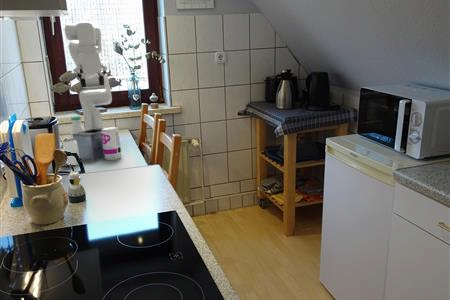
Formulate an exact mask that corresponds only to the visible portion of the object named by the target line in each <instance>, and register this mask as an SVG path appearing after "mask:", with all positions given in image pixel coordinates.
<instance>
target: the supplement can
mask: <svg viewBox="0 0 450 300" xmlns="http://www.w3.org/2000/svg"><path fill="white" fill-rule="evenodd" d="M119 132H120V131H119V129H118V127H116V126H110V127H107V126H106V127H103V129H102V131H101V137H102V144H103V151H104V158H103V159H105V160H106V161H113V160H114V161H115V160H119V159H120V158H121V157H122V156H123V155H122V149H121V148H122V147H121V141H120V133H119Z"/></svg>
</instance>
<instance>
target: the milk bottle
mask: <svg viewBox="0 0 450 300" xmlns="http://www.w3.org/2000/svg"><path fill="white" fill-rule="evenodd" d="M70 121H71V123H72V124H71V128H70V139H73V134H74V133H78V132H82V131H86V128H85V126H83V124H82V118H81V115H75V116H71V117H70Z"/></svg>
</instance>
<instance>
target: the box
mask: <svg viewBox="0 0 450 300" xmlns="http://www.w3.org/2000/svg"><path fill="white" fill-rule="evenodd" d="M103 128H104V127H103ZM103 128H93V129H89V130H86V129H85V131H82V132H78V133H74V134H73V139H76V141H77V145H78V151H79V157H80V159H81V160H80V161H88V162H96V161H99V160H101V159H105V158H104V151H103V144H102V137H101V131H102V129H103Z"/></svg>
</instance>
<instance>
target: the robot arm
mask: <svg viewBox="0 0 450 300" xmlns="http://www.w3.org/2000/svg"><path fill="white" fill-rule="evenodd" d="M64 35H65V37H66V40H68V41H69V43H68V51H69V54H70V56H71V58H72V60H73V62H74V64H75V66H76V67H75V68H74V69H72V70H73V71H72V72H74V74H75V76H76V77H77V78H78V82H79V85H80V86H81V88H83V89H82V90H81V91H80V92H79V93H78V98H79V102H80V105H81V110H82V114H83V121H84V128H85V131H86V130H89V129H93V128H104V126H103V119H102V113H101V111H100V110H99V109H98V108H97V106H102V105H103V106H107V105H110V104H112V102H113V97H112V91H111V87H110V86H111V84H110V81H109V76H108V73H107V70H108V67H107V66H105V65H103V64H102V62H101V58H100V55H99V54H101V53H102V30H101V29H100V26H99V25H98V24H95V23H92V22H90V21H80V22H76V23H66V24H65V26H64Z"/></svg>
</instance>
